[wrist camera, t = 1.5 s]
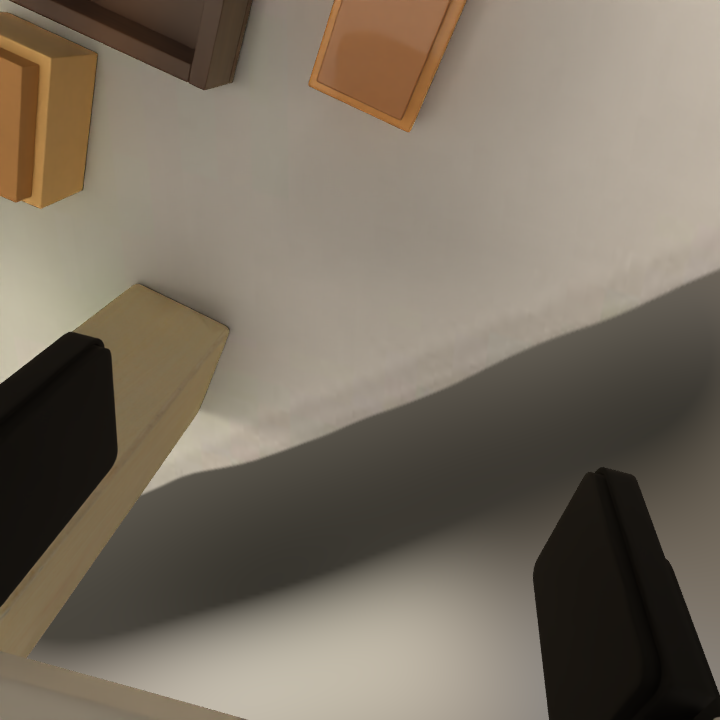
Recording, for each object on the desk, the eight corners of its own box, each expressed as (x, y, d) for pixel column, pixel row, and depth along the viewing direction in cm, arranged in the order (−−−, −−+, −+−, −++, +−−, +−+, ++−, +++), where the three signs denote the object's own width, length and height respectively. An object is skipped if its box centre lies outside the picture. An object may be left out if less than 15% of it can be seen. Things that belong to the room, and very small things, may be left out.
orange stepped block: (325, 78, 27) (300, 88, 23) (387, -110, 23) (369, -138, 19) (415, 120, 27) (406, 138, 23) (491, -57, 23) (497, -74, 19)
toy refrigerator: (124, 272, 34) (-234, 537, 17) (233, 325, 35) (-1, 632, 18) (101, 366, 39) (-204, 658, 21) (199, 411, 39) (-17, 730, 22)
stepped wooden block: (2, 155, 32) (-68, 176, 28) (7, 11, 28) (-75, 10, 24) (82, 190, 32) (25, 216, 28) (98, 53, 28) (33, 59, 24)
